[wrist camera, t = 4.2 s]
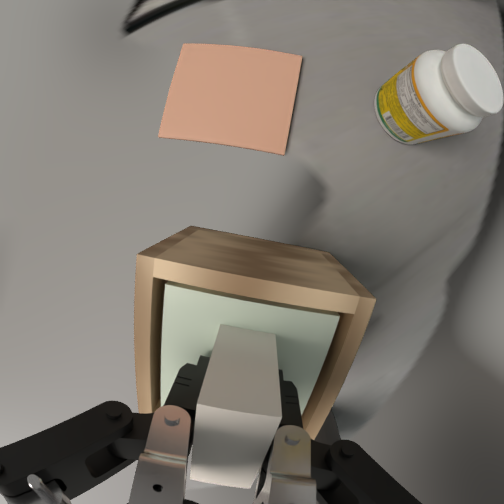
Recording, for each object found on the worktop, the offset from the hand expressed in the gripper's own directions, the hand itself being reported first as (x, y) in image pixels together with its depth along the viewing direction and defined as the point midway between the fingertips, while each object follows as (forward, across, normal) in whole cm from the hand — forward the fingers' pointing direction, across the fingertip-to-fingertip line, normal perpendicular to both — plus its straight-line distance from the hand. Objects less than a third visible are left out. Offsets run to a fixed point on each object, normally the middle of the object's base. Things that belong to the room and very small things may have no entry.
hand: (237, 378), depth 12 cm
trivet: (+9, +4, -15) cm, 18 cm away
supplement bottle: (+9, -9, -17) cm, 21 cm away
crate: (+9, 0, 0) cm, 9 cm away
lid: (+1, 0, 0) cm, 1 cm away
